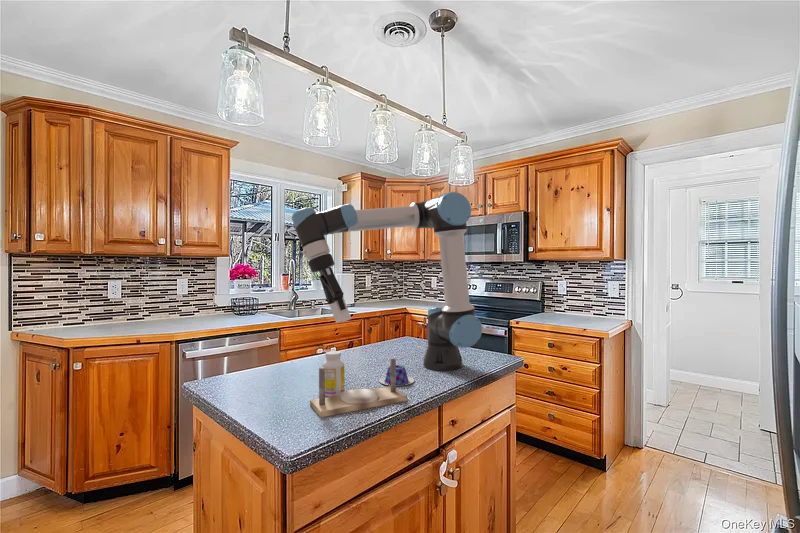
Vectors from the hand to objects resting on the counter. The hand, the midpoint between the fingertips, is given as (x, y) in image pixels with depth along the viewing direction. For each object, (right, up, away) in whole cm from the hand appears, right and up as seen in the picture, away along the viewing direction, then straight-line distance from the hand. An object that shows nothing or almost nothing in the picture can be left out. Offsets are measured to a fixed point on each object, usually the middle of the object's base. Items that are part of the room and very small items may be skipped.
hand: (343, 321), depth 122 cm
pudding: (+16, -23, +13) cm, 31 cm away
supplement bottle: (-3, -23, 0) cm, 23 cm away
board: (+6, -22, -8) cm, 24 cm away
